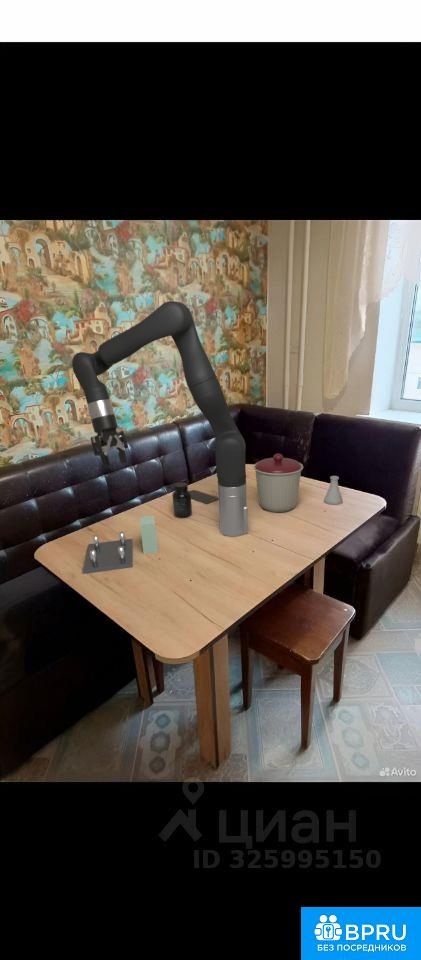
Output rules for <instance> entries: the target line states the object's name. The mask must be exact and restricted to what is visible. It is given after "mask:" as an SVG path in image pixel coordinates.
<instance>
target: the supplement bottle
mask: <svg viewBox="0 0 421 960" xmlns="http://www.w3.org/2000/svg"><path fill="white" fill-rule="evenodd" d="M173 487H174V491H173V493H172V494H171V495H172V507H173V516H174V517H175V518H178V519H187V518H190V517H191V516H192V515H193V509H192V508H193V506H192V499H191V493H190V491H191V490H189V487H188V483H186V482H177V483H175V484H174V486H173Z"/></svg>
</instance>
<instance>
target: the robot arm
mask: <svg viewBox="0 0 421 960" xmlns="http://www.w3.org/2000/svg"><path fill="white" fill-rule="evenodd" d="M198 334H199V333H198V331H197V328H196V325H195V321H194V318H193V315H192V311H191V310H190V309H189V307H188V305H186V304H185V303H183V302H180V301H173V300H168V301H166V302H164V303H162V304H161V305H159V307H157V308H156V309H155V310H153V312H151V313H150V314H148V316H147V317H145V318H144V319H142V320H141V321H139V322H137V324H135V325H133V326H131V327H130V328H128V329H126V330H124V331H122V332H120V333H118V334H117V335H114V336H113V337H111V338H109V339H107V340H106V341H104V342H102V343H101V344H99V346H98V350H97V351H95V352H92V353H89V352H83V351H80V352H78V353H76V354H75V355H73V357H72V361H71V366H72V371H73V373H74V375H75V378H76V379H77V381H78V383H79V385H80V387H81V389H82V390H83V394H84V396H85V400H86V403H87V408H88V414H89V418H90V421H91V425H92V428H93V432H94V433H95V434H96V435H93V436H90V441H91V442H90V443H91V445H92V446H91V447H92V449H93V450H92V451H93V455H94V456H95V457H99V458H100V460H101V464H102V466H103V468H104V469H108V468H111V462H110V458H109V455H108V452H109V450H110V448H113V449H115V450H116V451H117V455H118V458H119V461H120V464H125V463H127V462H128V459H127V454H126V449H128V448H129V445H128V442H127V437H126V435H125V432H124V431H123V430H121V431H117V429H118V422H117V420H116V419H117V418H116V415H115V411H114V407H113V406H112V403H111V400H110V397H109V393H108V389H107V386H106V384H105V383H103V382H102V381H100V380H99V376H101V375H102V374H104V373H106V372H107V371H108V370H109V369H111V368H112V367H113V366H114V365H115V364H118V363H120V362H121V361H123V360H126V359H127V358H129V357H130V356H133V355H134V354H135V353H137V352H138V351H140V350H141V349H142V348H143V347H145V346H147V345H149V344H151V343H152V342H156V341H158V340H161V339H164V338H166V337H170V336H171V339H172V340H173V342H174V345H175V346H176V348H177V350H178V353H179V357H180V358H181V363H182V370H183V375H184V379H185V382H186V385H187V388H188V390H189V392H190V394H191V396H192V398H193V401H194V402H195V404H196V406H197V407H198V409H199V410H200V412H201V414H202V415H203V416H204V417H205V419H207V422H208V423H209V425H210V427H211V430H212V433H213V435H214V438H215V441H216V446H215V468H216V471H215V472H216V478H217V491H218V493H217V494H218V496H217V497H218V498H219V499H218V514H219V516H218V517H219V531H220V533H221V534H222V535H224V536H227V537H239V536H242V535H245V534H248V533H249V532H248V531H249V528H248V524H249V523H248V522H249V521H248V505H247V471H246V468H247V467H246V445H247V444H246V441H245V439H244V437H243V435H242V434H241V432H240V430H239V429H238V426H237V425H236V423H235V421H234V419H233V417H232V415H231V412H230V410H229V406H228V403H227V400H226V396H225V394H224V392H223V389H222V386H221V383H220V382H219V379H218V377H217V374H216V372H215V370H214V368H213V365H212V364H211V361H210V360H209V357H208V355H207V353H206V351H205V348H204V347H203V345H202V343H201V339H200V337H199V335H198Z"/></svg>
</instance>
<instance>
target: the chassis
mask: <svg viewBox="0 0 421 960" xmlns="http://www.w3.org/2000/svg"><path fill="white" fill-rule="evenodd" d="M118 535H119V536H118V537H119V539H118V540H111V541H102V542H100V541H99V539H100V538H99V535H97V534H95V535H92V541H93V543H89V544H88V545H87V550H86V555H85V557H84V558H85V560H84V564H83V569H82V573H83V574H84V575H85V574H90V573H91V574H92V573H100V572H107V571H108V572H109V571H114V570H115V571H116V570H121V569H122V570H123V569H129V568H134V545H133V544H134V541H133V538H126V537H125V532H124V531H119V533H118Z"/></svg>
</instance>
